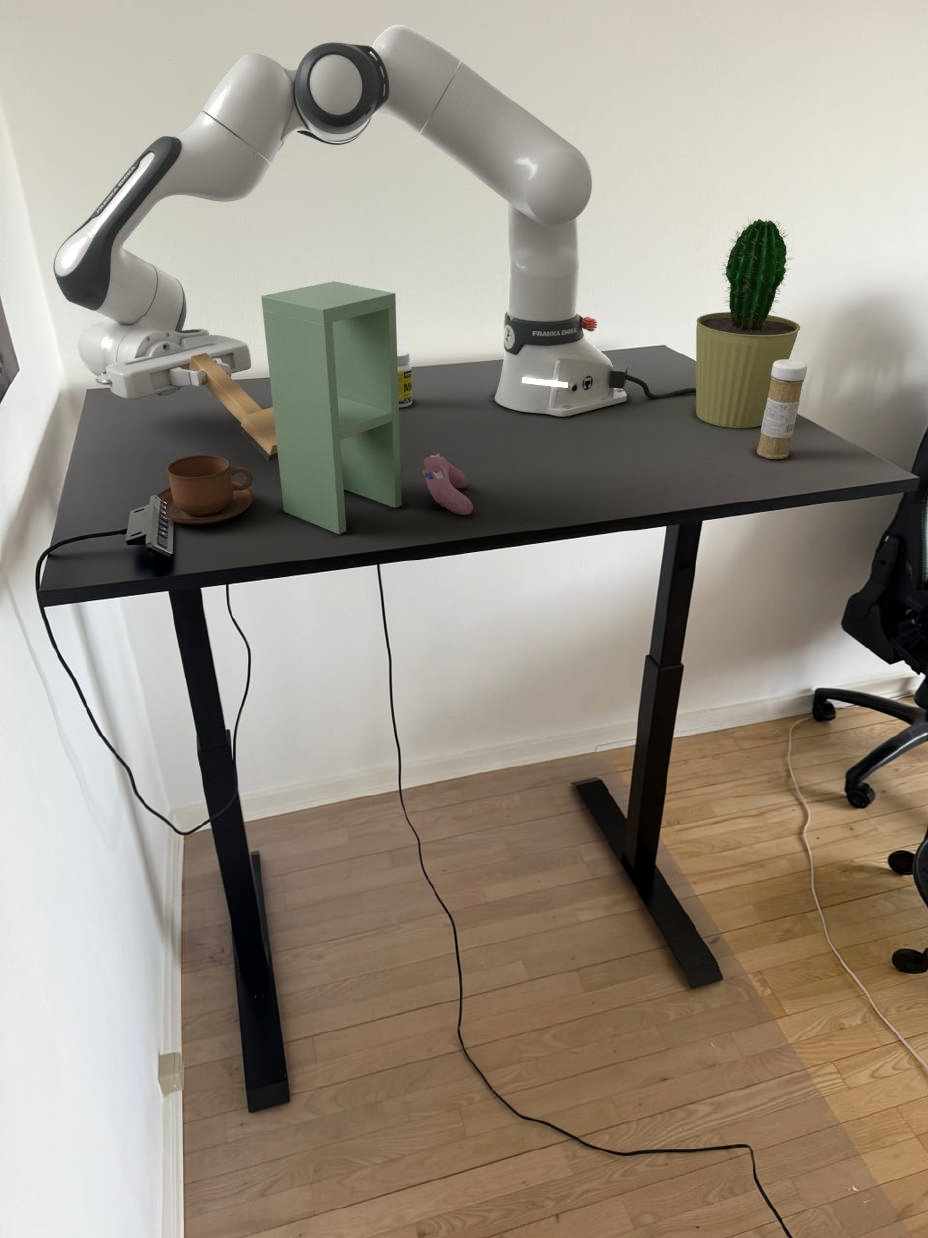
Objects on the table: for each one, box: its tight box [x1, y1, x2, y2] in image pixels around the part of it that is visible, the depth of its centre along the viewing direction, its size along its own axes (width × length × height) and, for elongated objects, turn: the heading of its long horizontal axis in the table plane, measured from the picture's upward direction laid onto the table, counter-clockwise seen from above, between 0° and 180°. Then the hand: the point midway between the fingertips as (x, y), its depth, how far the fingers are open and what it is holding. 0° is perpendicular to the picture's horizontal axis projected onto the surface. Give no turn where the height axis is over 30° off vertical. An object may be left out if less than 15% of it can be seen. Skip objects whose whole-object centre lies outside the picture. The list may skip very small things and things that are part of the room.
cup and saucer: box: [156, 454, 254, 526], centre depth 110 cm, size 12×12×6 cm
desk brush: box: [189, 353, 278, 462], centre depth 117 cm, size 19×6×3 cm, turn 49°
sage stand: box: [261, 281, 403, 535], centre depth 106 cm, size 10×11×26 cm
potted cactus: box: [695, 218, 801, 429], centre depth 136 cm, size 15×15×30 cm
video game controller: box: [422, 452, 474, 516], centre depth 113 cm, size 10×5×7 cm, turn 5°
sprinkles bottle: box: [756, 359, 808, 461], centre depth 126 cm, size 5×5×14 cm
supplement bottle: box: [397, 349, 413, 408], centre depth 146 cm, size 5×5×8 cm
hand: (215, 375), depth 118 cm, fingers closed on desk brush, 2 cm apart
